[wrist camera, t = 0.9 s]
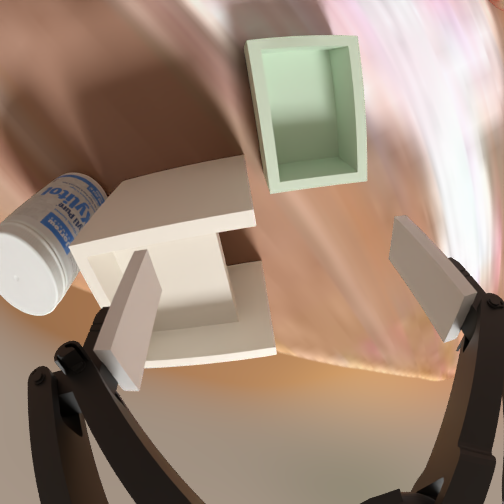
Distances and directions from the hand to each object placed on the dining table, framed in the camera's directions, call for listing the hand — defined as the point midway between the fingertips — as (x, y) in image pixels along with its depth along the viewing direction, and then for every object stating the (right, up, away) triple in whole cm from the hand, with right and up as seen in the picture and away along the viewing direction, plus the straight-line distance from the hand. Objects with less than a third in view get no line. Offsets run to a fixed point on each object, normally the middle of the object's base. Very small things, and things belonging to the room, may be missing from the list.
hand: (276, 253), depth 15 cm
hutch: (-8, +3, +20) cm, 21 cm away
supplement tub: (-23, +6, +17) cm, 29 cm away
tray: (+4, +15, +13) cm, 20 cm away
